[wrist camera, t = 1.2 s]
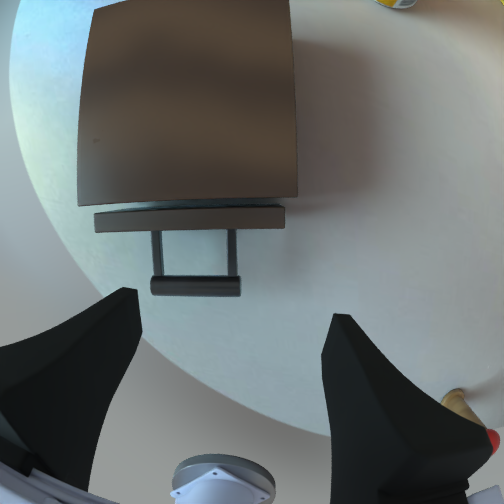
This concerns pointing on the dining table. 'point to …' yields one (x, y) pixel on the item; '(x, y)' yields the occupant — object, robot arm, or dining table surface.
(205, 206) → the drawer
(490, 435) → the ball
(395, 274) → the dining table surface
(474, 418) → the flanged wooden peg
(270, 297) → the dining table surface
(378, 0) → the yellow two-tone cylinder
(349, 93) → the dining table surface
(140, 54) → the cabinet
